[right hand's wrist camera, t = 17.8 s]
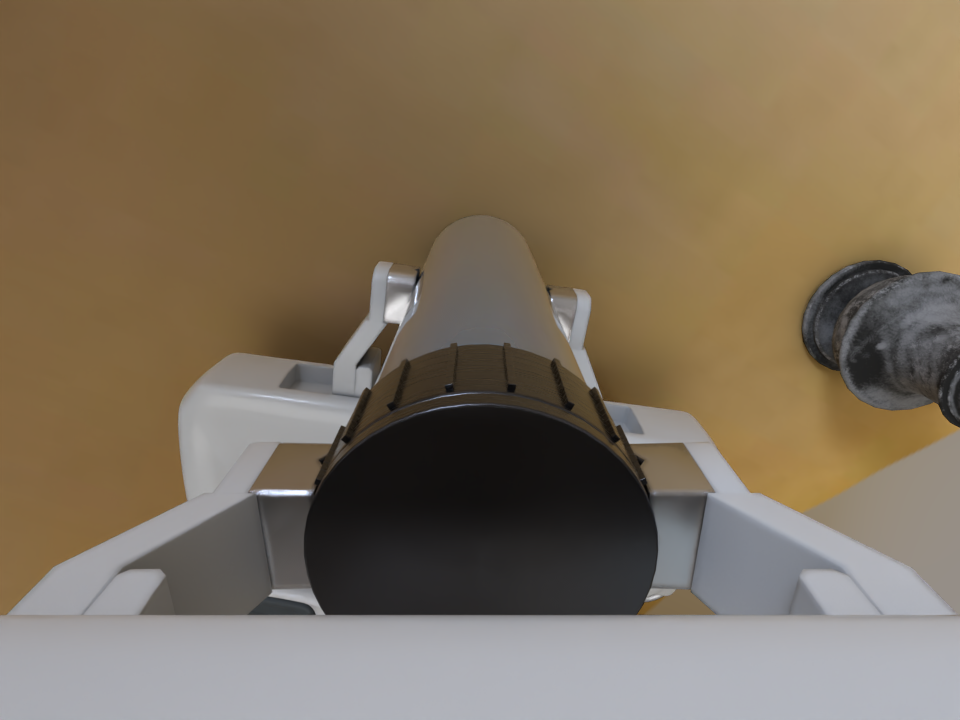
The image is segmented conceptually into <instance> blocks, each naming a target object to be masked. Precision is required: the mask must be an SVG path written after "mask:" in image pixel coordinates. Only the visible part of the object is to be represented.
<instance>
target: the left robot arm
mask: <svg viewBox="0 0 960 720" xmlns="http://www.w3.org/2000/svg"><path fill="white" fill-rule="evenodd" d="M419 277H420V267H416V266H409V265H403V264H397V263H393V262H383V261H379V263H378V264H377V265H376V267H375V269H374V273H373V278H372V286H371V299H370V312H369V313H368V314H367V316H366V317H365V318H364V320H363V321H362V323H361V324H360V325H359V327H358V328H357V329H356V331H355V332H354V333H353V335H352V336H351V337H350V339H349V340H348V341H347V343H346V344H345V346H344V348H343V349H342V351H341V352H340V354H339V355H338V357H337V359H336V360H335V362H334V365H329V364H322V363H314V362H307V361H299V360H292V359H284V358H277V357H269V356H262V355H254V354H247V353H232V354H230V355H228V356H226V357H224V358H223V359H222V360H221V361H219V362H218V363H217V364H215V365H214V366H213V367H211V368H210V369H209V370H208V371H206V372H205V373H204V374H203V375H202V376H201V377H200V378H199V379H198V380H197V381H196V382H195V383H194V384H193V385H192V386H191V387H190V389H189V390H188V391H187V392H186V394H185V395H184V397H183V399H182V401H181V404H180V407H179V413H178V432H179V446H180V457H181V465H182V473H183V479H184V486H185V492H186V497H187V501H189V500H191V499H193V498H195V497H197V496H199V495H201V494H203V493H213V492H214V491H215V490H216V488H217V487H218V486H219V484H220V483H221V482H222V480H223V479H224V477H225V476H226V475H227V473H228V472H229V471H230V469H231V468H232V467H233V465H234V464H235V463H236V461H237V460H238V459H239V457H240V456H241V455H242V453H243V452H244V451H245V449H246V448H247V447H248V445H249V444H251V443H259V442H281V443H333V441H334V439H335V437H336V435H337V433H338V431H339V429H340V426H341V425H342V426H345V427H346V425H347V423H348V421H349V419H350V417H351V415H352V414H353V412H354V409H355V407H356V405H357V403H358V401H359V398H360V396H361V394H362V392H363V390H364V389H365V388H366V387H367V388H369V389H371V388H372V387H373V386H374V385H375V383H376V380H377V378H378V375H379V373H380V366H381V352H382V351H381V349H380V348H377V347H370V346H371V345H372V343H373V342H374V341H375V339H376V338H377V337H378V335H379V334H380V333H381V331H382V330H383V329H384V327H385V326H386V325H387V323H395V324H400V322H401V320H402V318H403V315H404V313H405V310H406V308H407V305H408V303H409V301H410V298H411V296H412V293H413V291H414V289H415V286H416V284H417V281H418V279H419ZM546 289H547V291H548V293H549V296H550V298H551V301H552V303H553V305H554V308H555V310H556V312H557V315H558V317H559V320H560V322H561V324H562V327H563V329H564V332H565V334H566V336H567V339H568V341H569V343H570V346H571V348H572V351H573V353H574V355H575V358H576V360H577V362H578V365H579V367H580V370H581V372H582V374H583V377H584V379H585V382H586V384H587V386H588V387H589V388H591V389H592V388H593V387H596V388H597V389H598V391H599V393H600V395H601V392H600V389H599V386H598V384H597V381H596V378H595V375H594V372H593V369H592V366H591V364H590V361H589V358H588V355H587V352H586V350H585V347H584V345H583V344H584V340H585V335H586V330H587V326H588V321H589V317H590V312H591V297H590V296H589V294H588V293H587V291H586V290H581V289H574V288H567V287H559V286H551V285H547V286H546ZM601 397H602V395H601ZM602 399H603V398H602ZM603 402H604V404H605V406H606V408H607V411H608V412H609V414H610V416H611V418H612V419H613V421H614V423H615V426H618V425H621V427H622V429H623V431H624V433H625V435H626V438H627V440H628V442H629V444H644V443H692V442H710V443H712V444H714V442H713V440H712V439H711V438H710V436H709V435H708V433H707V432H706V431H705V430H704V428H703V427H702V426H701V425H700V424H699V422H698V421H697V420H696V419H695V418H694V417H693V416H692V415H691V414H689V413H687V412H683V411H679V410H671V409H663V408H656V407H648V406H641V405H633V404H625V403H618V402H610V401H603ZM714 446H715V447H716V445H715V444H714ZM716 448H717V447H716ZM717 450H718V449H717ZM718 451H719V450H718ZM675 590H676V589H654V588H651V589H650V591H649V593H648V595H647V597H646V600H645V602H650V601H654V600H657V599H659V598H661V597H663V596H669V595H671V594H673V593H674V592H675ZM247 615H325V614H324V612H323V611H322V609H321V608H320V606H319V604H318V602H317V600H316V598H315V596H314V594H313V592H312V588H308V589H272V593H271V594H270V595H269V596H268V597H266V598H265V599H264V600H263V601H262V602H261V603H260V604H259V605H258V606H256V607H255V608H254V609H253V610H252V611H251V612H250V613H249V614H247Z"/></svg>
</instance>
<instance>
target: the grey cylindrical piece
mask: <svg viewBox="0 0 960 720" xmlns="http://www.w3.org/2000/svg"><path fill="white" fill-rule="evenodd" d="M451 343H457V345H458V346H462V345H480V344H490V345H499V346H503V345H504V343H510V344H511V347H513V348H517V349H521V350H525V351H529V352H532V353H535V354H537V355H540V356H543V357H545V358H548V359H550V360H553V359H554V358H556V359H558V360H560V363H561V366H563V367H565V368H566V369H567V370H569V371H570V372H572V373H573V374H574V375H576V376H577V377H579V378H580V379H581V380H582V381H583V382H584V383H585V384H586V382H585V379H584V377H583V374H582V372H581V370H580V367H579V365H578V362H577V360H576V358H575V355H574V353H573V351H572V348H571V346H570V343H569V341H568V339H567V336H566V334H565V332H564V329H563V327H562V324H561V322H560V320H559V317H558V315H557V312H556V310H555V308H554V305H553V303H552V301H551V298H550V296H549V293H548V291H547V289H546V286H545V284H544V282H543V279H542V277H541V274H540V272H539V270H538V267H537V265H536V263H535V260H534V258H533V255H532V253H531V251H530V248H529V246H528V244H527V242H526V240H525V239H524V237H523V236H522V235H521V233H520V232H519V231H518V230H517V229H516V228H514V227H513V226H512V225H511V224H509V223H507V222H506V221H504V220H502V219H499V218H496V217H493V216H487V215H474V216H468V217H464V218H462V219H459V220H457V221H455V222H453V223H452V224H450V225H449V226H447V227H446V228H445V229H444V230H443V231H442V232H441V233H440V234H439V236H438V237H437V238H436V240H435V242H434V243H433V245H432V248H431V250H430V252H429V255H428V257H427V260H426V262H425V265H424V267H423V269H422V272H421V274H420V277H419V279H418V281H417V284H416V286H415V289H414V291H413V293H412V296H411V298H410V301H409V303H408V305H407V308H406V310H405V313H404V315H403V318H402V320H401V322H400V325H399V327H398V330H397V332H396V334H395V337H394V339H393V342H392V344H391V346H390V349H389V351H388V354H387V356H386V358H385V361H384V363H383V366H382V368H381V371H380V373H379V375H378V378H377V380H376V383H377V382H378V381H379V380H381V379H382V378H383V377H385V376H386V375H387V374H389V373H390V372H391V371H393V370H394V369H396V368H397V367H399V366H400V363H401V361H402V360H404V359H406V358H407V359H408V361H410V360H412V359H414V358H417V357H419V356H422V355H424V354H427V353H429V352H433V351H437V350H440V349H444V348H448V347H450V344H451ZM376 383H375V384H376ZM586 385H587V384H586Z"/></svg>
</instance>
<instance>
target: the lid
mask: <svg viewBox="0 0 960 720" xmlns="http://www.w3.org/2000/svg"><path fill="white" fill-rule="evenodd" d="M645 484H648V482H647V480H646V477H645V475H644V473H643V471H642V469H641V467H640V465H639V463H638V461H637V459H636V456H635V454H634V452H633V450H632V448H631V446H630V444H629V442H628V440H627V438H626V435H625V433H624V431H623V429H622V427H621V425H618V426H615V423H614V421H613V419H612V418H611V416H610V414H609V412H608V411H607V408H606V406H605V404H604V402H603V399H602V397H601V395H600V393H599V391H598V389H597V388H596V387H593V388H592V389H591V388H589V387H588V386H587V385H586V384H585V383H584V382H583V381H582V380H581V379H580V378H579V377H577V376H576V375H574V374H573V373H572V372H570V371H569V370H567V369H566V368H565V367H563V366H561V363H560V360H558V359H556V358H554V359H553V360H550V359H548V358H545V357H543V356H540V355H537V354H535V353H532V352H529V351H525V350H521V349H517V348H513V347H511V344H510V343H504V345H503V346H499V345H490V344H480V345H462V346H458V345H457V343H451V344H450V347H448V348H444V349H440V350H437V351H433V352H429V353H427V354H424V355H422V356H419V357H417V358H414V359H412V360H410V361H408V359H407V358H406V359H404V360H402V361H401V363H400V366H399V367H397V368H396V369H394V370H393V371H391V372H390V373H389V374H387V375H386V376H385V377H383V378H382V379H381V380H379V381H378V382H377V383H376V384H375V385H374V386H373V387H372V388H371V389H369V388H367V387H366V388H365V389H364V390H363V392H362V394H361V396H360V398H359V401H358V403H357V405H356V407H355V409H354V412H353V414H352V415H351V417H350V419H349V421H348V423H347V425H346V427H345V426H342V425H341V426H340V429H339V431H338V433H337V435H336V437H335V439H334V441H333V443H332V446H331V448H330V450H329V452H328V454H327V456H326V458H325V460H324V462H323V465H322V467H321V469H320V471H319V473H318V475H317V477H316V479H315V482H314V485H317V486H318V489H317V491H316V493H315V495H314V498H313V500H312V503H311V506H310V509H309V512H308V515H307V519H306V525H305V531H304V559H305V566H306V572H307V576H308V579H309V582H310V585H311V588H312V592H313V594H314V596H315V598H316V600H317V602H318V604H319V606H320V608H321V609H322V611H323V612H324V614H325V615H637V613H638V612H639V610H640V609H641V607H642V606H643V604H644V602H645V600H646V597H647V595H648V593H649V591H650V589H651V586H652V582H653V579H654V575H655V572H656V567H657V558H658V530H657V525H656V520H655V515H654V511H653V509H652V506H651V504H650V501H649V498H648V496H647V493H646V491H645V489H644V487H643V485H645Z"/></svg>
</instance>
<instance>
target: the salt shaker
mask: <svg viewBox="0 0 960 720" xmlns="http://www.w3.org/2000/svg"><path fill="white" fill-rule="evenodd" d="M802 333H803V339H804V343H805V345H806V347H807V349H808V351H809V353H810V355H812V356H813V357H814V358H815V359H816V360H817V361H818V362H819V363H820V364H822V365H824V366H826V367H828V368H830V369H832V370H837V371H840V374H841V376H842V378H843V380H844V382H845V384H846V386H847V388H848V389H849V390H850V391H851V392H852V393H853V394H854V395H855V396H856V397H857V398H858V399H859V400H861V401H863V402H865V403H867V404H869V405H871V406H873V407H875V408H881V409H886V410H908V409H914V408H917V407H921V406H924V405H928V404H931V403H933V402H935V403H937V404H938V405H939V407H940V409H941V412H942V414H943V415H944V416H945V418H946V419H947V420H948V421H949V422H950V423H952V424H954V425H956V426H958V427H960V275H956V274H951V273H946V272H941V271H935V272H921V273H916V274H913V275H912V274H911V273H910V272H909V271H908V270H906V269H905V268H903V267H901V266H899V265H897V264H895V263H891V262H886V261H881V260H874V261H863V262H859V263H856V264H853V265H850V266H847V267H845V268H844V269H842V270H840V271H838V272H837V273H835V274H833V275H832V276H831V277H830V278H828V279H827V280H826V281H825V282H824V283H823V284H822V285H821V286H820V287H819V288H818V289H817V291H816V292H815V294H814V295H813V296H812V298H811V299H810V301H809V303H808V306H807V308H806V311H805V313H804V317H803V325H802Z"/></svg>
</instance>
